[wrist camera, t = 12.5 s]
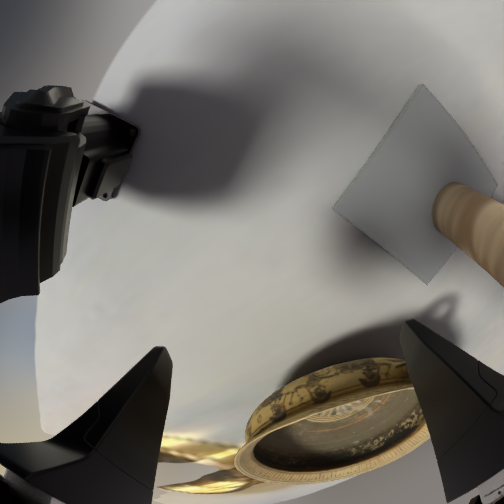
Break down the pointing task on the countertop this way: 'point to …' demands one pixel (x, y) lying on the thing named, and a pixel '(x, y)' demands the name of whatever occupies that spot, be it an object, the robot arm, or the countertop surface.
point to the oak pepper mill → (472, 225)
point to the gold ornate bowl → (334, 424)
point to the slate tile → (414, 184)
